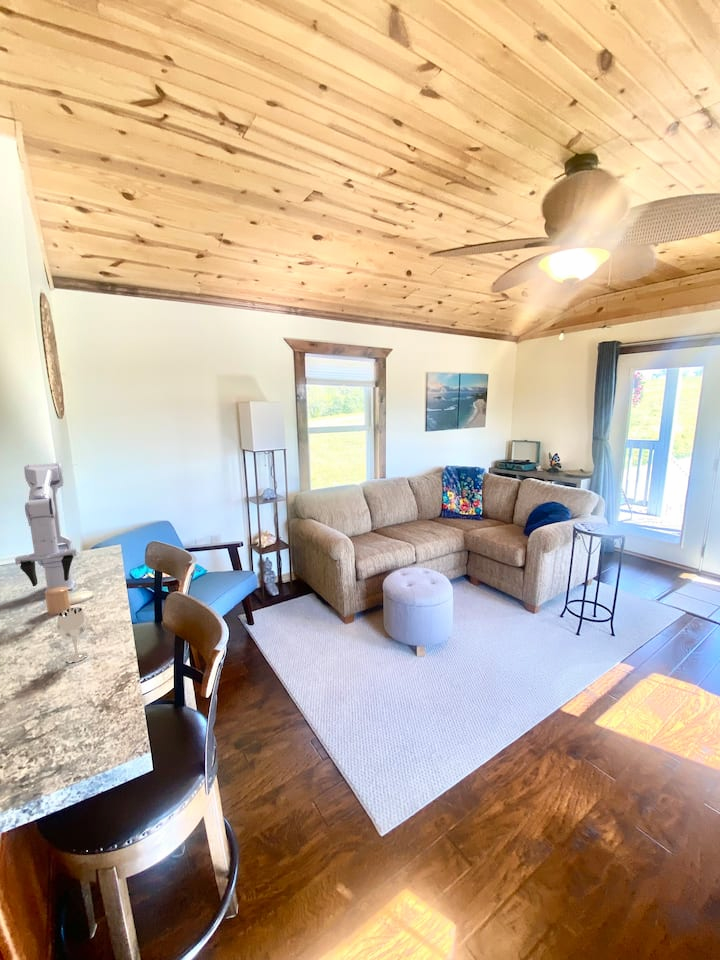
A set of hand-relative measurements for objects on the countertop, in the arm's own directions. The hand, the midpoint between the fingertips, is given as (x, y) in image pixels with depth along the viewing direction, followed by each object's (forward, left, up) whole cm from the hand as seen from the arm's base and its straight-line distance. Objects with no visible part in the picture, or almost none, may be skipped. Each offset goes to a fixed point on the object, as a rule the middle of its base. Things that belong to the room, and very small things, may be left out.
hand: (51, 582), depth 120 cm
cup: (-1, +1, -10) cm, 10 cm away
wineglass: (+33, +10, -10) cm, 36 cm away
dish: (-9, +4, -10) cm, 14 cm away
